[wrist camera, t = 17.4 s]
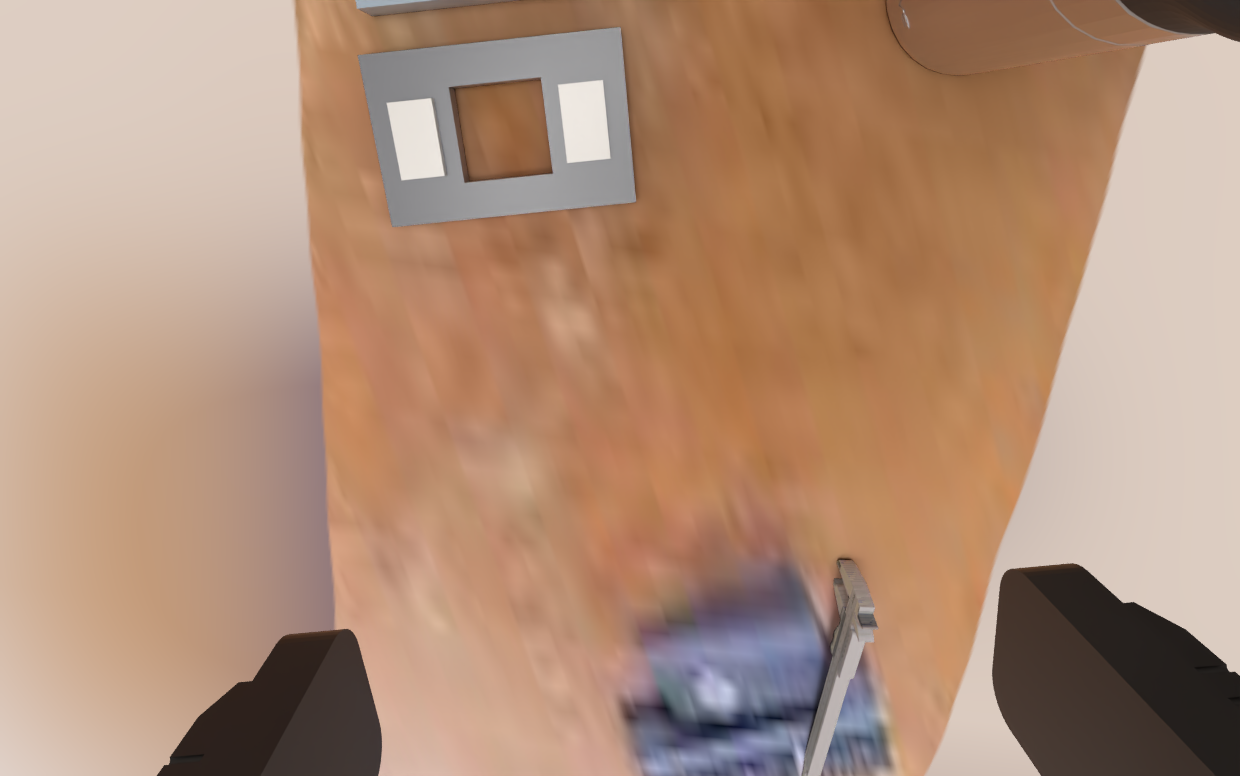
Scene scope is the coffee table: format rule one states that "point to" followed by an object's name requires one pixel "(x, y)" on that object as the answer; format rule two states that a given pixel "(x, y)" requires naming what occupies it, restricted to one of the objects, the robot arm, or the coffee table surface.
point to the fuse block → (432, 141)
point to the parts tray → (414, 5)
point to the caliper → (841, 659)
